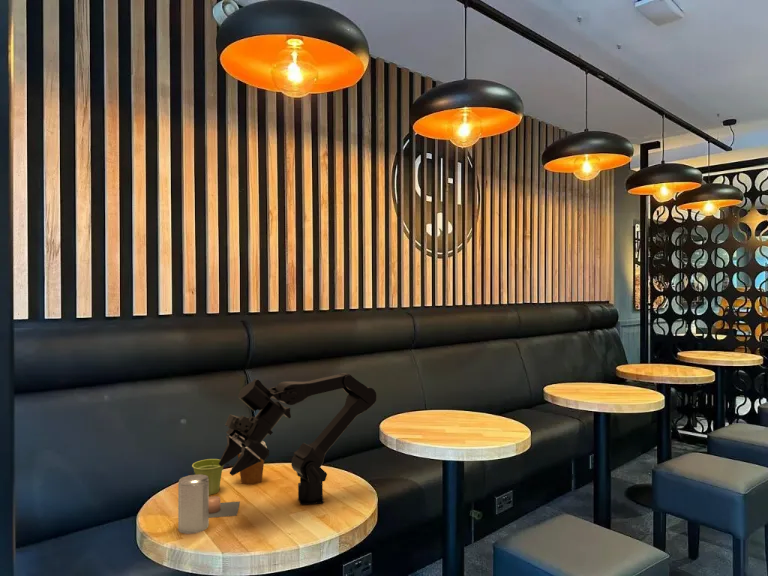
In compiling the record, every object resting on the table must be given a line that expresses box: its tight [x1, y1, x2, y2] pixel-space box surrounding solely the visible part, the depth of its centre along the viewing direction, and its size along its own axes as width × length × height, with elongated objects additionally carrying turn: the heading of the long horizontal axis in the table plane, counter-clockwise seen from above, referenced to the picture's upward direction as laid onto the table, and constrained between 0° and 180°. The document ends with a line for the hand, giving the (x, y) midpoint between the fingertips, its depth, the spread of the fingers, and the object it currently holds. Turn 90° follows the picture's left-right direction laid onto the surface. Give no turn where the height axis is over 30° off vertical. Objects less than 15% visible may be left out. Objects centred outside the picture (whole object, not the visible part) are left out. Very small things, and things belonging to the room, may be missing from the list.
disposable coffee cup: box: [237, 440, 268, 485], centre depth 169 cm, size 10×10×12 cm
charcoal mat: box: [209, 501, 241, 519], centre depth 145 cm, size 14×10×1 cm
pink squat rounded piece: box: [209, 495, 221, 513], centre depth 145 cm, size 4×4×3 cm
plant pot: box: [191, 458, 226, 496], centre depth 160 cm, size 9×9×9 cm
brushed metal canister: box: [177, 474, 210, 535], centre depth 135 cm, size 7×7×12 cm
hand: (225, 469), depth 139 cm, fingers open, 9 cm apart
